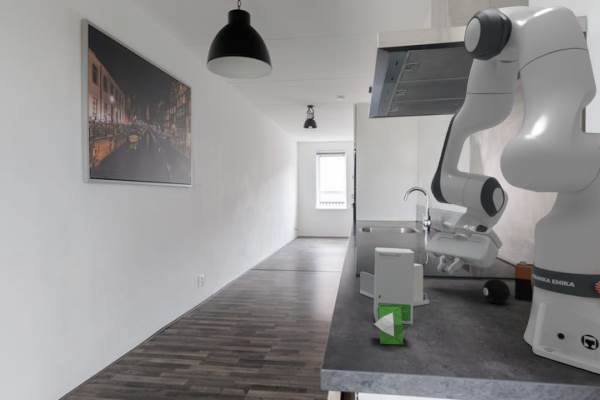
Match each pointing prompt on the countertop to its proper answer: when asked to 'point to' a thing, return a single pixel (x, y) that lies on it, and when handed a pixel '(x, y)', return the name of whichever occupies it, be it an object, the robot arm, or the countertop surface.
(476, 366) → the countertop surface
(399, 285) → the skincare box
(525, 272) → the battery
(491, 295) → the billiard ball
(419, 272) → the block
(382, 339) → the geometric puzzle
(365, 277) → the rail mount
